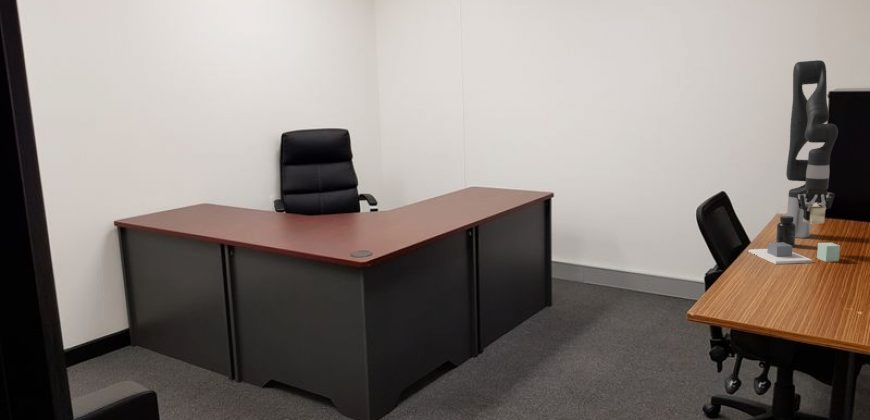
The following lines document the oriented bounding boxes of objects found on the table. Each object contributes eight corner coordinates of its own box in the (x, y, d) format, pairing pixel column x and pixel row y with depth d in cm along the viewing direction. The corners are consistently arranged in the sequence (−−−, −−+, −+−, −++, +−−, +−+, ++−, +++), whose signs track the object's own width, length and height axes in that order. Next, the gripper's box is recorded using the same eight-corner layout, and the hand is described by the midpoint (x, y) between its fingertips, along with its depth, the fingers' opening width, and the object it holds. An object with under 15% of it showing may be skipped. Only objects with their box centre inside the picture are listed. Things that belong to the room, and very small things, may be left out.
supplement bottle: (790, 243, 257) (792, 215, 255) (797, 247, 250) (800, 218, 248) (772, 243, 258) (774, 215, 255) (780, 247, 251) (782, 218, 249)
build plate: (748, 251, 245) (749, 239, 244) (782, 250, 246) (783, 238, 245) (775, 264, 227) (776, 250, 227) (812, 262, 228) (813, 249, 227)
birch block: (803, 221, 241) (804, 206, 240) (815, 220, 242) (816, 205, 240) (811, 223, 237) (812, 208, 235) (824, 223, 237) (825, 207, 236)
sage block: (816, 258, 234) (818, 242, 233) (829, 257, 234) (830, 242, 233) (825, 261, 229) (827, 246, 228) (838, 261, 229) (840, 245, 228)
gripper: (828, 174, 240) (824, 216, 243) (793, 175, 239) (789, 218, 242) (842, 176, 232) (838, 220, 236) (805, 178, 231) (802, 222, 235)
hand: (813, 219), depth 239 cm, fingers closed on birch block, 5 cm apart
